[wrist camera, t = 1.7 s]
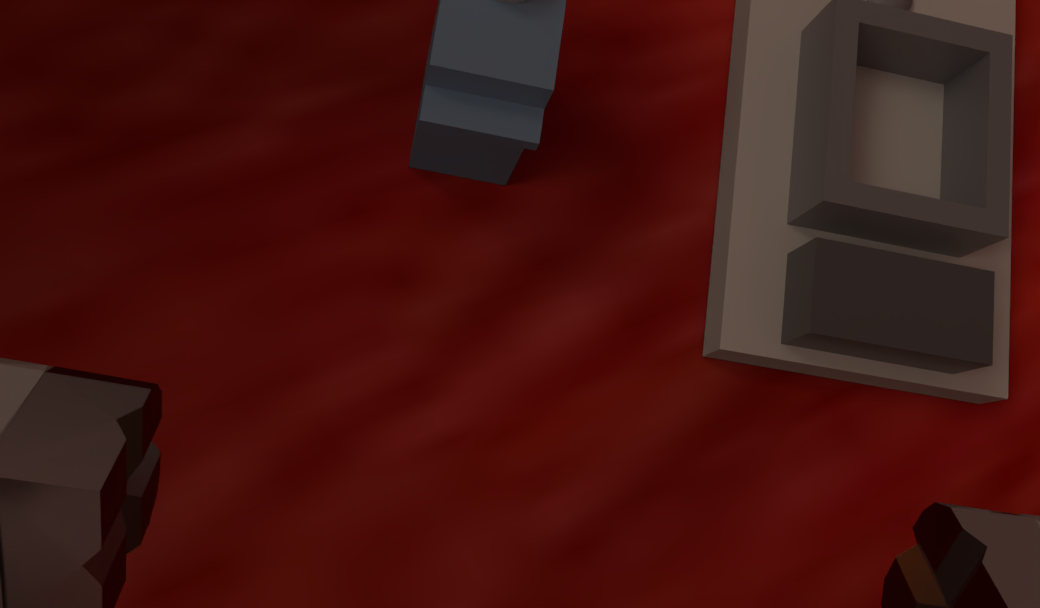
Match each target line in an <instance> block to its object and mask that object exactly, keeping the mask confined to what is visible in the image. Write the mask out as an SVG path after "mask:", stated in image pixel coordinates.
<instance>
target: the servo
mask: <svg viewBox="0 0 1040 608" xmlns="http://www.w3.org/2000/svg"><path fill="white" fill-rule="evenodd" d="M565 6H566V0H439V1H438V6H437V12H436V17H435V22H434V27H433V32H432V37H431V42H430V47H429V52H428V58H427V64H426V69H425V75H424V81H423V87H422V93H421V98H420V104H419V110H418V116H417V121H416V127H415V133H414V139H413V145H412V150H411V156H410V162H409V167H412V168H417V169H422V170H428V171H433V172H438V173H443V174H448V175H454V176H459V177H464V178H469V179H474V180H479V181H485V182H490V183H495V184H500V185H506V183H507V181H508V179H509V177H510V175H511V173H512V171H513V169H514V168H515V166H516V164H517V162H518V160H519V158H520V156H521V154H522V152H523V150H524V148H525V149H530V150H535V151H536V149H537V147H538V146H539V143H540V136H541V129H542V122H543V115H544V109H545V107H546V105H547V103H548V101H549V99H550V97H551V95H552V93H553V91H554V86H555V78H556V71H557V64H558V57H559V50H560V42H561V35H562V28H563V21H564V13H565Z"/></svg>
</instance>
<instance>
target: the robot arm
mask: <svg viewBox="0 0 1040 608" xmlns="http://www.w3.org/2000/svg"><path fill="white" fill-rule="evenodd" d="M161 418H162V391H161V389H160V387H159V386H158V384H154V383H149V382H143V381H137V380H131V379H126V378H120V377H114V376H108V375H103V374H97V373H91V372H85V371H80V370H74V369H68V368H62V367H56V366H54V367H50V366H47V365H41V364H35V363H29V362H23V361H17V360H11V359H5V358H0V608H114V607H115V604H116V602H117V600H118V597H119V595H120V593H121V590H122V588H123V586H124V583H125V581H126V554H127V553H129V552H130V551H132V550H134V549H135V548H137V547H138V546H140V545H141V542H142V540H143V537H144V535H145V532H146V530H147V527H148V525H149V522H150V518H151V514H152V511H153V507H154V503H155V499H156V496H157V490H158V483H159V475H160V461H161V452H160V451H159V449H158V448H157V447H156V446H155V444H154V443H153V442H152V438H153V436H154V434H155V432H156V430H157V427H158V425H159V423H160V421H161ZM913 531H914V535H915V538H916V542H917V545H915V546H914V547H912V548H910V549H909V550H907V551H905V552H904V553H902V554H900V555H899V556H897V557H896V558H895V560H894V561H893V563H892V565H891V567H890V569H889V571H888V573H887V575H886V577H885V579H884V586H883V594H882V603H881V605H882V608H1040V516H1037V515H1029V514H1019V515H1018V514H1013V513H1006V512H999V511H992V510H985V509H978V508H971V507H965V506H958V505H951V504H944V503H937V502H934V503H933V504H932V505H930V506H929V507H928V508H926V509H925V510H924V511H922V513H921V515H920V516H919V518H918V520H917V521H916V523H915V525H914V526H913Z"/></svg>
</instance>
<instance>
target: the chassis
mask: <svg viewBox="0 0 1040 608" xmlns="http://www.w3.org/2000/svg"><path fill="white" fill-rule="evenodd" d="M1015 11H1016V0H736V4H735V15H734V26H733V36H732V47H731V58H730V68H729V79H728V90H727V101H726V111H725V122H724V133H723V143H722V154H721V165H720V175H719V186H718V197H717V207H716V218H715V229H714V240H713V250H712V261H711V272H710V282H709V293H708V304H707V314H706V325H705V336H704V347H703V356H704V357H709V358H715V359H721V360H727V361H733V362H738V363H744V364H750V365H756V366H762V367H767V368H773V369H779V370H785V371H791V372H796V373H802V374H808V375H814V376H820V377H825V378H831V379H837V380H843V381H849V382H854V383H860V384H866V385H872V386H878V387H884V388H889V389H895V390H901V391H907V392H913V393H918V394H924V395H930V396H936V397H942V398H947V399H953V400H959V401H965V402H971V403H976V404H982V403H988V402H994V401H1000V400H1005V399H1008V378H1009V325H1010V273H1011V221H1012V168H1013V116H1014V63H1015Z"/></svg>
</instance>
